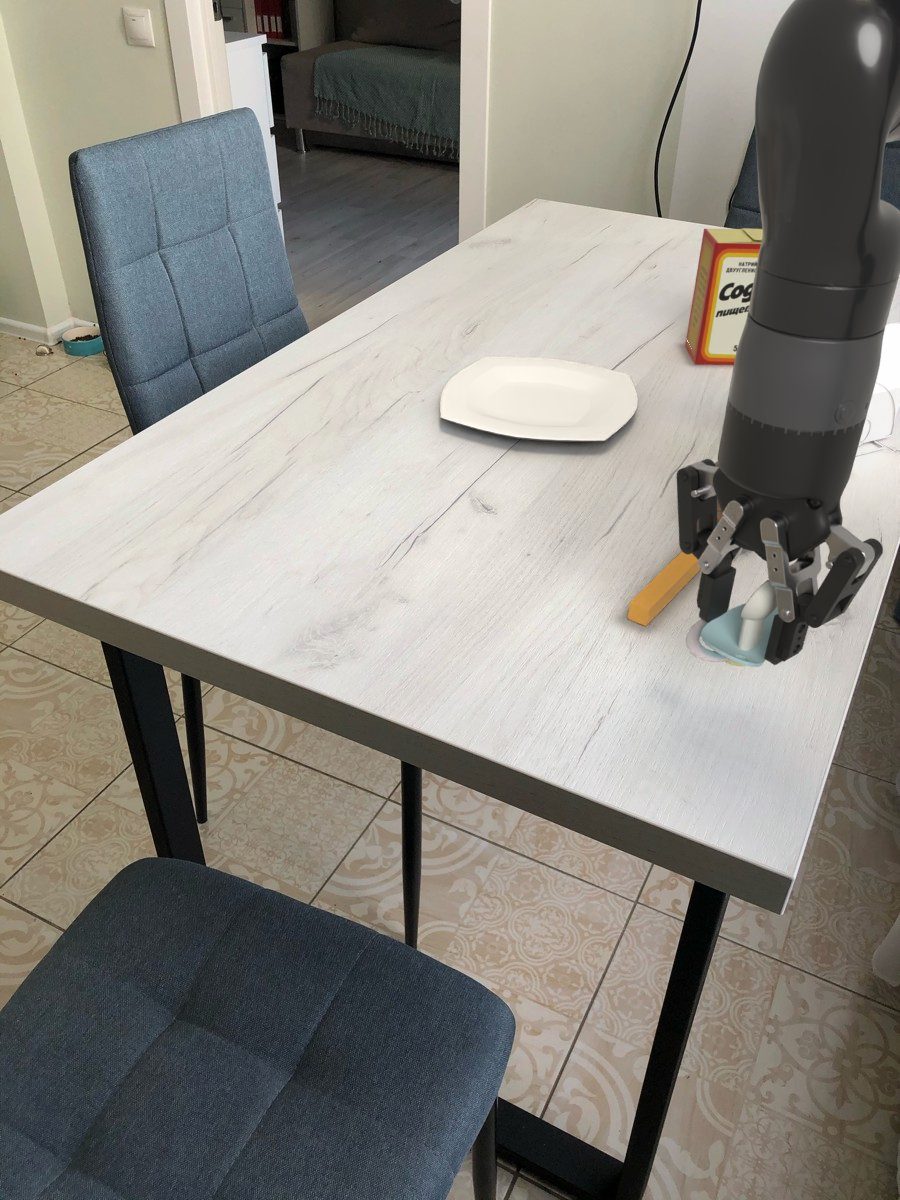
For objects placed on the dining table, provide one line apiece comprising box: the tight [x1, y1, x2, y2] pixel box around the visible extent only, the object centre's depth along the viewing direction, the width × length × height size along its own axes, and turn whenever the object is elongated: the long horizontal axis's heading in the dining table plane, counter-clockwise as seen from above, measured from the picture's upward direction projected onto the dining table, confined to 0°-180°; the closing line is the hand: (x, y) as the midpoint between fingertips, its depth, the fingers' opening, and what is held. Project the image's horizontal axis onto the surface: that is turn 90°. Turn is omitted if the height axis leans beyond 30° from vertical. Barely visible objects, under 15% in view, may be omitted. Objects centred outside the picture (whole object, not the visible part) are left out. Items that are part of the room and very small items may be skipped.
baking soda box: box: [684, 227, 763, 366], centre depth 123 cm, size 10×6×16 cm
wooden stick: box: [627, 550, 701, 627], centre depth 82 cm, size 12×2×2 cm, turn 143°
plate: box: [439, 356, 639, 443], centre depth 112 cm, size 23×23×2 cm
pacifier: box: [685, 579, 778, 668], centre depth 62 cm, size 7×6×6 cm
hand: (744, 635), depth 63 cm, fingers closed on pacifier, 5 cm apart
